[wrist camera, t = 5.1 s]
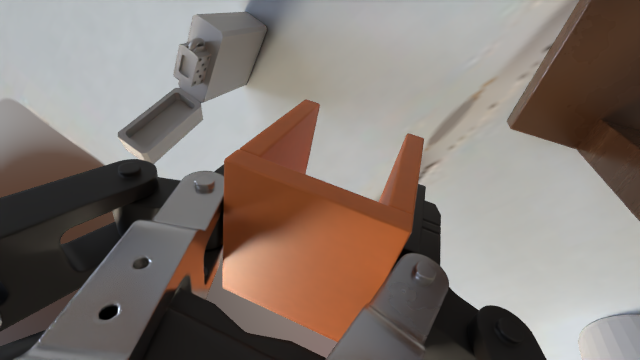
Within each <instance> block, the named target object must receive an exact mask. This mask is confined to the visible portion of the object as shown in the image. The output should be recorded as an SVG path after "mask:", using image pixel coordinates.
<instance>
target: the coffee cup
mask: <svg viewBox="0 0 640 360" xmlns="http://www.w3.org/2000/svg"><path fill="white" fill-rule="evenodd" d="M578 345H579V350H580V354H581V357H582V360H640V315H617V316H612V317H607V318H603V319H600V320H597V321H595V322H593V323H591V324H589V325H588V326H587V327H585V328H584V329H583V330H582V332H581V333H580V335H579V339H578Z"/></svg>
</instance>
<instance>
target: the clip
mask: <svg viewBox="0 0 640 360" xmlns="http://www.w3.org/2000/svg"><path fill="white" fill-rule="evenodd" d="M319 107H320V105H319V104H318V103H316V102H313V101H310V100H304V101H303V102H301V103H300V104H299V105H297V106H296V107H295V108H293V109H292V110H291V111H289V112H288V113H287V114H285V115H284V116H283V117H281V118H280V119H279V120H277V121H276V122H275V123H273V124H272V125H270V126H269V127H268V128H266V129H265V130H264V131H262V132H261V133H260V134H258V135H257V136H256V137H254V138H253V139H252V140H250V141H249V142H248V143H246V144H245V145H244V146H242V147H241V148H240V150H236V151H235V152H234V153H232V154H231V155H230V156H228V157H227V158H226V159H225V160H224V218H223V288H224V289H226V290H228V291H230V292H232V293H235V294H237V295H239V296H241V297H243V298H245V299H248V300H250V301H251V302H254V303H256V304H258V305H260V306H262V307H264V308H266V309H269V310H271V311H273V312H275V313H277V314H279V315H281V316H283V317H285V318H287V319H290V320H292V321H294V322H296V323H298V324H301V325H303V326H304V327H307V328H309V329H311V330H313V331H315V332H317V333H319V334H322V335H323V336H326V337H328V338H330V339H332V340H334V341H336V342H338V341H339V340H340V339H341V337H342V336H343V334H344V333H345V332H346V330H347V329H348V328H349V326H350V325H351V323H352V322H353V321H354V319H355V318H356V316H357V315H358V314H359V312H360V311H361V309H362V308H363V307H364V306H365V304H366V303H369V302H370V301H371V299H372V298H373V297H374V295H375V294H376V292H377V291H378V290H379V288H380V287H381V285H382V284H383V282H384V281H385V280H386V278H387V277H388V275H389V274H390V272H391V270H392V268H393V266H394V264H395V263H396V261H397V259H398V257H399V255H400V253H401V252H402V250H403V248H404V246H405V244H406V242H407V240H408V239H409V237H410V235H411V233H412V227H413V219H414V210H415V202H416V195H417V187H418V180H419V173H420V165H421V158H422V150H423V143H424V139H423V138H421V137H418V136H415V135H412V134H407V135H406V137H405V140H404V142H403V144H402V147H401V149H400V152H399V154H398V157H397V159H396V161H395V164H394V166H393V169H392V171H391V174H390V176H389V178H388V181H387V183H386V186H385V188H384V191H383V193H382V195H381V198H380V200H379V202H377V201H374V200H371V199H369V198H366V197H363V196H361V195H358V194H355V193H353V192H350V191H348V190H345V189H342V188H340V187H337V186H334V185H332V184H329V183H326V182H324V181H321V180H318V179H316V178H313V177H310V176H308V175H305V174H306V169H307V164H308V159H309V155H310V150H311V145H312V140H313V135H314V131H315V126H316V121H317V116H318V111H319Z"/></svg>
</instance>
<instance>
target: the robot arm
mask: <svg viewBox="0 0 640 360" xmlns="http://www.w3.org/2000/svg"><path fill="white" fill-rule="evenodd" d="M425 189H426V187H425V186H423V185H420V184H418V187H417V195H416V202H415V210H414V219H413V227H412V233H411V235H410V237H409V239H408V240H407V242H406V244H405V246H404V248H403V250H402V252H401V253H400V255H399V257H398V259H397V261H396V263H395V264H394V266H393V268H392V270H391V272H390V274H389V275H388V277H387V278H386V280H385V281H384V282H383V284H382V285H381V287H380V288H379V290H378V291H377V292H376V294H375V295H374V297H373V298H372V299H371V301H370V302H369V303H366V304H365V306H364V307H363V308H362V309H361V311H360V312H359V314H358V315H357V316H356V318H355V319H354V321H353V322H352V323H351V325H350V326H349V328H348V329H347V330H346V332H345V333H344V334H343V336H342V337H341V339H340V340H339V341H338V343H337V344H336V346H335V347H334V348H333V350H332V352H331V353H330V354H329V355H328V357H327V358H325V357H323V356H320V355H318V354H316V353H314V352H312V351H310V350H308V349H306V348H304V347H302V346H300V345H298V344H296V343H293V342H292V341H287V340H281V339H276V338H271V337H266V336H260V335H255V334H250V333H247V332H245V331H244V330H242V329H241V328H240V327H239V326H238V325H237V324H236V323H235V322H234V321H233V320H231V319H230V318H229V317H228V316H227V315H226V314H225V313H224V312H223V311H222V310H221V309H219V308H218V307H217V306H216V305H215V304H213V303H211V302H209V301H207V300H206V299H207V295H208V292H209V289H210V287H211V284H212V282H213V279H214V277H215V274H216V272H217V269H218V267H219V264H220V262H221V259H222V257H223V218H224V165H222V166H221V167H220V168H218V169H217V170H216V171H215V172H212V171H198V172H194V173H191V174H189V175H187V176H185V177H184V178H183V179H182V180H181V181H180V180H173V179H166V178H160V177H158V175H157V169H156V167H155V165H154V164H152V163H151V162H148V161H145V160H139V159H129V160H122V161H119V162H115V163H112V164H109V165H106V166H103V167H99V168H96V169H93V170H89V171H86V172H83V173H80V174H76V175H73V176H70V177H67V178H64V179H60V180H57V181H54V182H50V183H47V184H44V185H41V186H38V187H34V188H31V189H28V190H25V191H21V192H18V193H15V194H12V195H8V196H5V197H1V198H0V331H2V330H4V329H6V328H8V327H9V326H11V325H13V324H15V323H17V322H19V321H20V320H22V319H24V318H26V317H28V316H30V315H31V314H33V313H35V312H37V311H39V310H40V309H42V308H44V307H46V306H48V305H49V304H52V303H53V302H55V301H57V300H58V299H61V298H62V297H64V296H66V295H68V294H70V293H72V292H73V291H75V290H77V289H79V288H80V289H79V291H78V292H77V293H76V294H75V296H74V297H73V298H72V299H71V301H70V302H69V303H68V304H67V305H66V307H65V308H64V309H63V310H62V312H61V313H60V314H59V315H58V317H57V318H56V319H55V320H54V322H53V323H52V324H51V325H50V327H49V328H48V329H47V330H44V331H42V332H39V333H36V334H33V335H30V336H28V337H25V338H22V339H19V340H16V341H14V342H11V343H8V344H6V345H3V346H0V360H546V358H545V356H544V354H543V352H542V350H541V348H540V346H539V345H538V343H537V341H536V339H535V337H534V335H533V334H532V332H531V331H530V330H529V328H528V327H527V326H526V325H525V324H524V323H523V322H522V321H521V320H520V319H519V318H518V317H517V316H515V315H514V314H512V313H511V312H509V311H508V310H506V309H503V308H501V307H498V306H491V305H490V306H485V307H483V308H481V309H480V310H477V309H476V308H475V307H473V306H472V305H470V304H469V303H467V302H466V301H465V300H463V299H462V298H460V297H459V296H458V295H457V294H455V293H454V292H453V291H452V290H451V289H450V287H449V280H448V277H447V275H446V273H445V272H444V270H443V269H442V268H441V267H440V234H441V227H440V225H441V215H440V213H439V211H438V209H437V207H436V205H435V204H433V203H430V202H427V201H425ZM111 211H113V215H114V218H115V222H113V223H111V224H109V225H106V226H104V227H102V228H100V229H97V230H95V231H93V232H91V233H88V234H86V235H84V236H82V237H79V238H77V239H75V240H72V241H70V242H68V243H65V244H61V243H60V239H61V237H62V235H63V234H64V233H65V232H66V231H67V230H69V229H70V228H72V227H74V226H76V225H79V224H82V223H84V222H86V221H89V220H91V219H94V218H96V217H98V216H101V215H103V214H106V213H108V212H111Z"/></svg>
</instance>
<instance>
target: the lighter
mask: <svg viewBox="0 0 640 360" xmlns="http://www.w3.org/2000/svg"><path fill="white" fill-rule="evenodd" d="M266 31H267V29H266V26H265V25H264V24H263V23H261V22H260V21H258V20H257V19H256V18H254V17H253V16H251V15H250V14H249V13H247V12H234V13H215V14H197V15H194V16H193V18H192V22H191V27H190V32H189V36H188V41H187V43H185V44H179V49H178V54H177V59H176V64H175V69H174V74H173V75H174V77H175V78H177V79H178V80H179V82H178V85H179V87H180V88H175V89H173V90H172V91H171V92H169V93H168V94H167V95H166V96H164V97H163V98H162V99H161V100H159V101H158V102H157V103H155V104H154V105H153V106H152V107H150V108H149V109H148V110H146V111H145V112H144V113H143V114H141V115H140V116H139V117H137V118H136V119H135V120H134V121H132V122H131V123H130V124H128V125H127V126H126V127H125V128H123V129H122V130H121V131H119V132H118V138H119V139H120V141H121V142H122V144H123V145H124V147H125V148H126V150H127V151H129V152H130V153H132V154H133V155H134V156H136V157H137V158H139V159H140V160H145V161H148V162H151V163H152V164H154V163H155V162H156V161H158V160H159V159H160V158H161V157H162V156H163V155H164V154H165V153H166V152H168V151H169V150H170V149H171V148H172V147H173V146H174V145H175V144H176V143H178V142H179V141H180V140H181V139H182V138H183V137H184V136H185V135H186V134H188V133H189V132H190V131H191V130H192V129H193V128H194V127H195V126H196V125H198V124H199V123H200V122H201V121H202V120H203V116H202V109H201V103H202V102H206V101H208V100H210V99H213V98H215V97H218V96H220V95H222V94H225V93H227V92H230V91H232V90H234V89H237V88H239V87H242V86H244V85H246V84H247V82H248V79H249V76H250V74H251V71H252V68H253V66H254V63H255V60H256V58H257V55H258V53H259V50H260V47H261V45H262V42H263V39H264V37H265V34H266Z"/></svg>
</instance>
